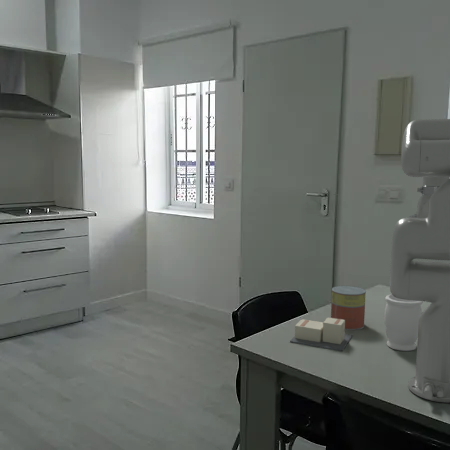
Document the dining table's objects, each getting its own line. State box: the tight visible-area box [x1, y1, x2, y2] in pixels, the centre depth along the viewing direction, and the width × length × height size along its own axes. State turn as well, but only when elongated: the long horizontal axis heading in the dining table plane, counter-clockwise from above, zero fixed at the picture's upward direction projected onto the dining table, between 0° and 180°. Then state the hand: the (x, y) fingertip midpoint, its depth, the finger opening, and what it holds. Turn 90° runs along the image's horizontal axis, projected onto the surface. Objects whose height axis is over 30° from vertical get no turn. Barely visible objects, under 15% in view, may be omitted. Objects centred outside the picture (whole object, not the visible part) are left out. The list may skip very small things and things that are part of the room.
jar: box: [383, 293, 424, 352], centre depth 148 cm, size 11×10×15 cm
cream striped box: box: [294, 318, 324, 342], centre depth 156 cm, size 7×8×4 cm
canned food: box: [330, 285, 367, 331], centre depth 168 cm, size 11×11×12 cm
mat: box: [289, 333, 353, 352], centre depth 155 cm, size 14×16×1 cm
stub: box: [323, 317, 346, 344], centre depth 152 cm, size 6×5×6 cm
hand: (431, 246), depth 156 cm, fingers open, 9 cm apart
